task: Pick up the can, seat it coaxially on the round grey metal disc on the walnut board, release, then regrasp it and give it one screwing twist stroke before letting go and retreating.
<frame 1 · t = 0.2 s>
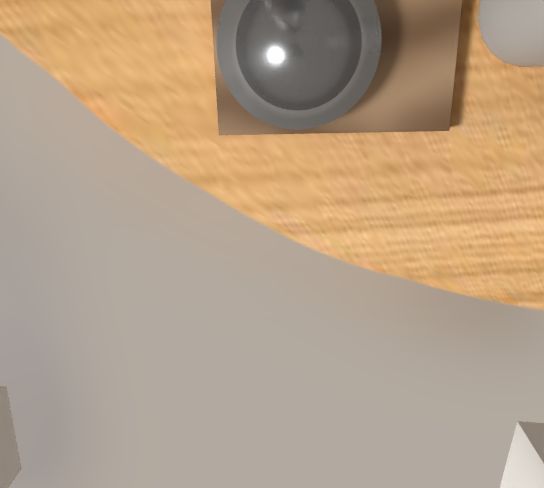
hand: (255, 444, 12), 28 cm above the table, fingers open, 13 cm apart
seat: (298, 46, 33), resting on board
board: (333, 23, 34), on the table
can: (527, 9, 33), on the table
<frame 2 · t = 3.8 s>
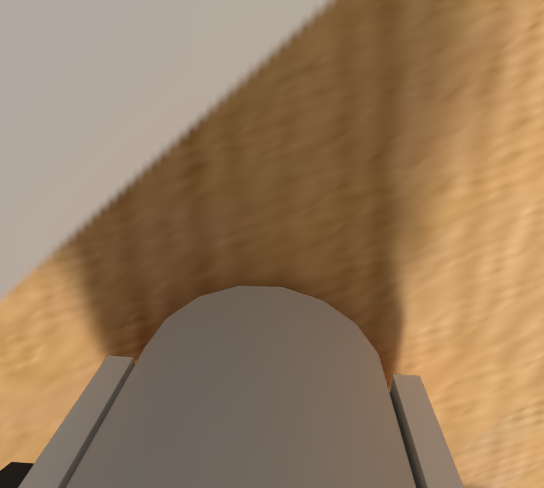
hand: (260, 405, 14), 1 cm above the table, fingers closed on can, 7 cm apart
can: (263, 377, 15), on the table, touching gripper
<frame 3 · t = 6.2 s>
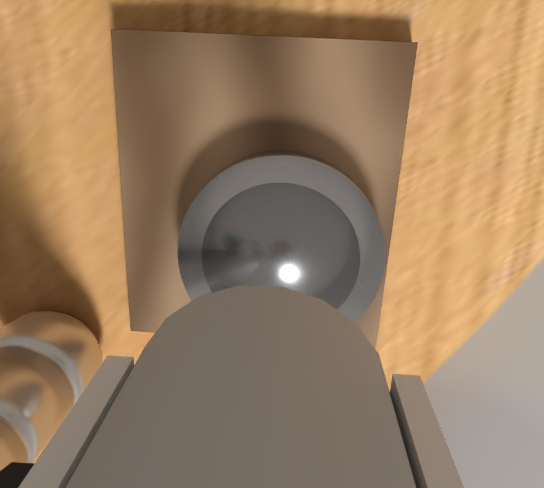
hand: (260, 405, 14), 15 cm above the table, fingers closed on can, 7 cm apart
seat: (281, 248, 27), resting on board
board: (258, 198, 27), on the table
can: (263, 377, 15), point 14 cm above the table, touching gripper
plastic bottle: (65, 341, 31), on the table
when the fingers open (5 cm above the table, at t = 8.8 s): can stays where it is, resting on seat.
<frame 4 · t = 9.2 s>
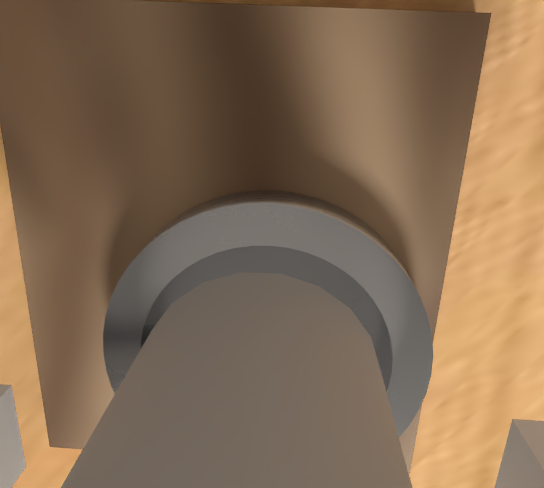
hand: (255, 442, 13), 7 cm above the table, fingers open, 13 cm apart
seat: (268, 335, 18), resting on board
board: (233, 258, 18), on the table
can: (263, 360, 16), point 3 cm above the table, touching seat
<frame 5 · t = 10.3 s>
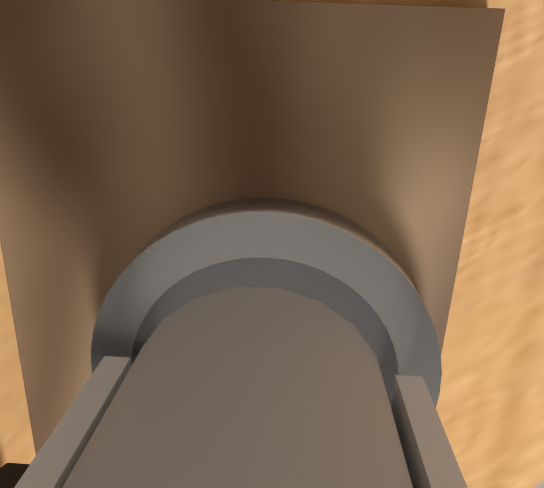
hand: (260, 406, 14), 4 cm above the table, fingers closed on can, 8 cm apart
seat: (266, 350, 17), resting on board
board: (229, 268, 17), on the table
can: (260, 378, 15), point 3 cm above the table, touching gripper, seat
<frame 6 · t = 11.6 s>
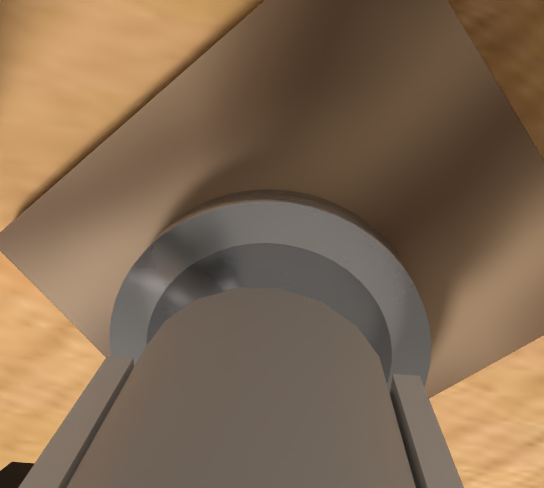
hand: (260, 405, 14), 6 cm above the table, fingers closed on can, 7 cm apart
seat: (270, 331, 18), resting on board
board: (299, 253, 18), on the table
can: (263, 379, 15), point 4 cm above the table, touching gripper
when the fingers open (6 cm above the table, at t = 12.5 s): can drops 1 cm, resting on seat.
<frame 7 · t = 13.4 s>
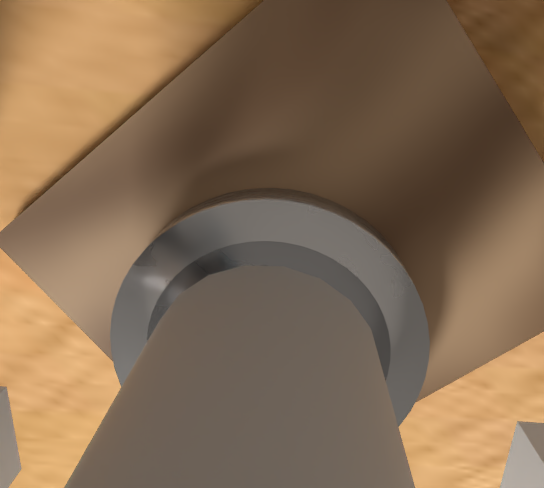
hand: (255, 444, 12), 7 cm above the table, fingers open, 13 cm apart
seat: (270, 329, 18), resting on board
board: (299, 251, 18), on the table
can: (265, 352, 17), point 3 cm above the table, touching seat
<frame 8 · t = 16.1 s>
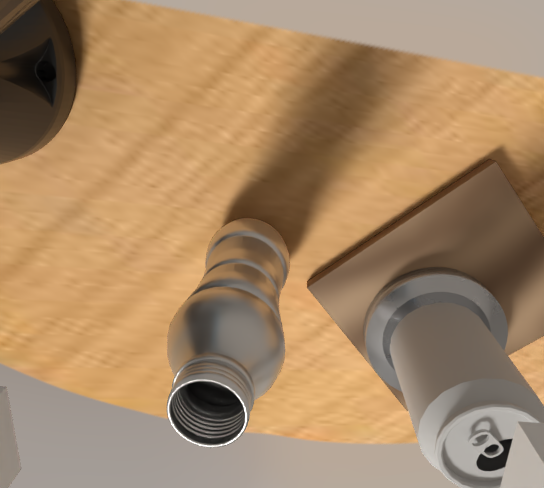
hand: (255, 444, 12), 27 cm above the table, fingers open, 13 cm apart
seat: (430, 328, 39), resting on board
board: (443, 292, 40), on the table
can: (434, 338, 38), point 3 cm above the table, touching seat
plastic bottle: (251, 249, 39), on the table
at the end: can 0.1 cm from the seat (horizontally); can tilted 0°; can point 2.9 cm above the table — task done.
